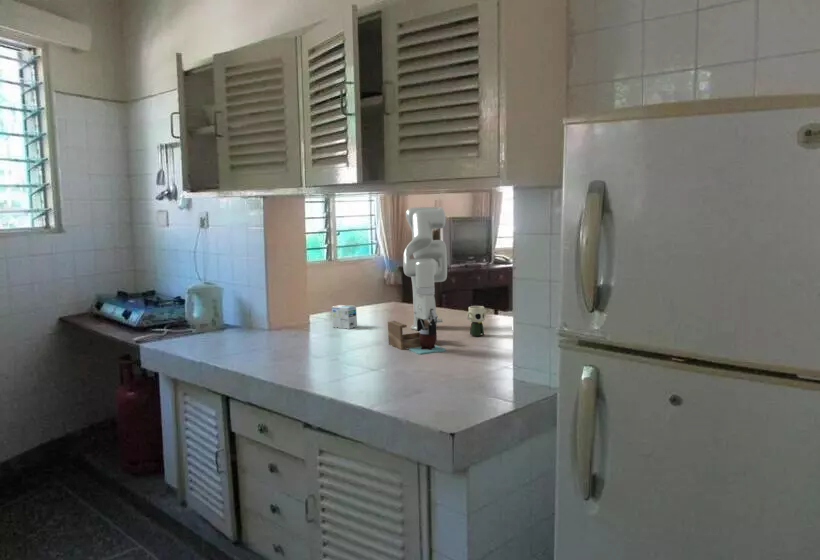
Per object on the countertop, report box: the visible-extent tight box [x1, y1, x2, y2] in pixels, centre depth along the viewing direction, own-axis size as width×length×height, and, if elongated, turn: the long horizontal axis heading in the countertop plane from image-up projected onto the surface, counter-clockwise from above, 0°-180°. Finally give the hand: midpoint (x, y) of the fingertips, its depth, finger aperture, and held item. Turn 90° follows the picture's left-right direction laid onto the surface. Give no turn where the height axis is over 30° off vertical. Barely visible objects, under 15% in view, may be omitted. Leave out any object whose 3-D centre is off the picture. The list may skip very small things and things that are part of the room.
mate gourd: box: [413, 311, 436, 350], centre depth 261 cm, size 8×8×15 cm
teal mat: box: [408, 344, 447, 355], centre depth 261 cm, size 12×10×1 cm
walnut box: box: [387, 320, 438, 351], centre depth 272 cm, size 17×12×10 cm
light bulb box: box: [331, 304, 358, 330], centre depth 316 cm, size 11×7×11 cm, turn 58°
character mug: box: [466, 305, 487, 337], centre depth 285 cm, size 11×7×13 cm, turn 125°
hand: (426, 332), depth 260 cm, fingers open, 9 cm apart
